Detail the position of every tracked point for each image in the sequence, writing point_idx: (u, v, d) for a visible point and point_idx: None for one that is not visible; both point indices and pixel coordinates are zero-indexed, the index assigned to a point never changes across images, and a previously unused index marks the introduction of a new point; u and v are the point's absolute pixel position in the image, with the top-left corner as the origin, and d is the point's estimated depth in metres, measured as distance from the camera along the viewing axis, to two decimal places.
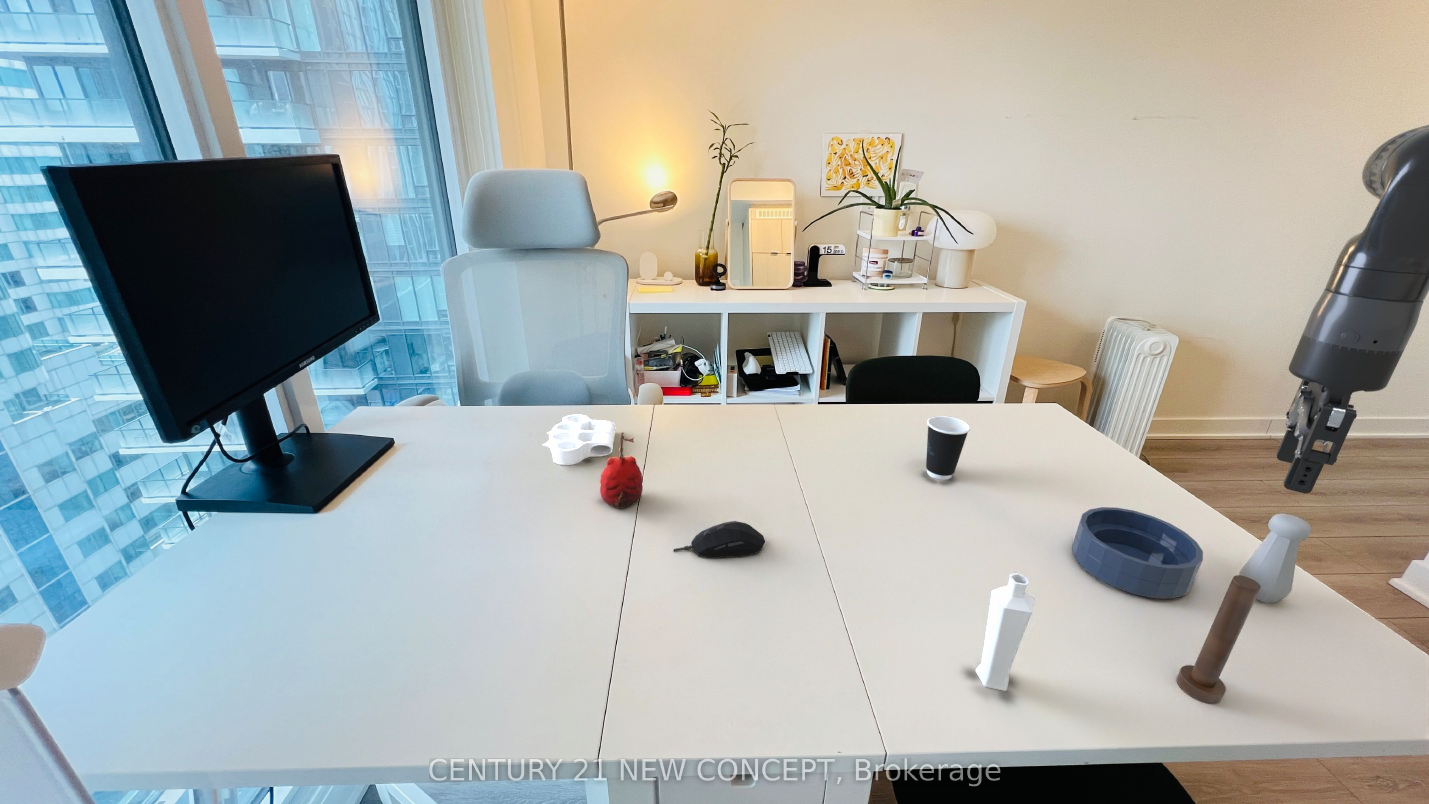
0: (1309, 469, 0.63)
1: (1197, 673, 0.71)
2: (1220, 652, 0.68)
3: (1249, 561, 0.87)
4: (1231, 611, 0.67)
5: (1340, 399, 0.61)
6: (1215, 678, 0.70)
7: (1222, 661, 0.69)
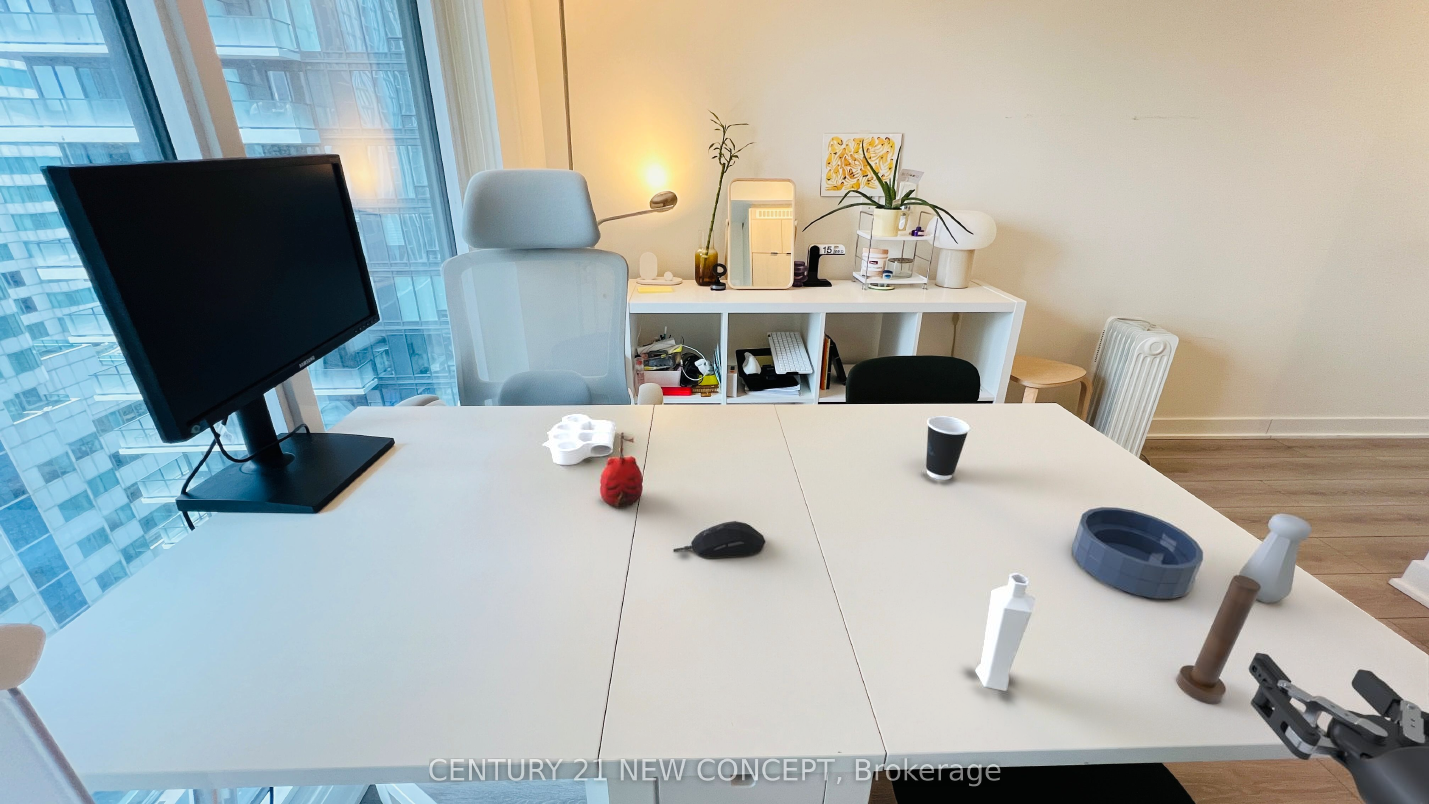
0: None
1: (1197, 673, 0.71)
2: (1220, 652, 0.68)
3: (1249, 561, 0.87)
4: (1231, 611, 0.67)
5: None
6: (1215, 678, 0.70)
7: (1222, 661, 0.69)
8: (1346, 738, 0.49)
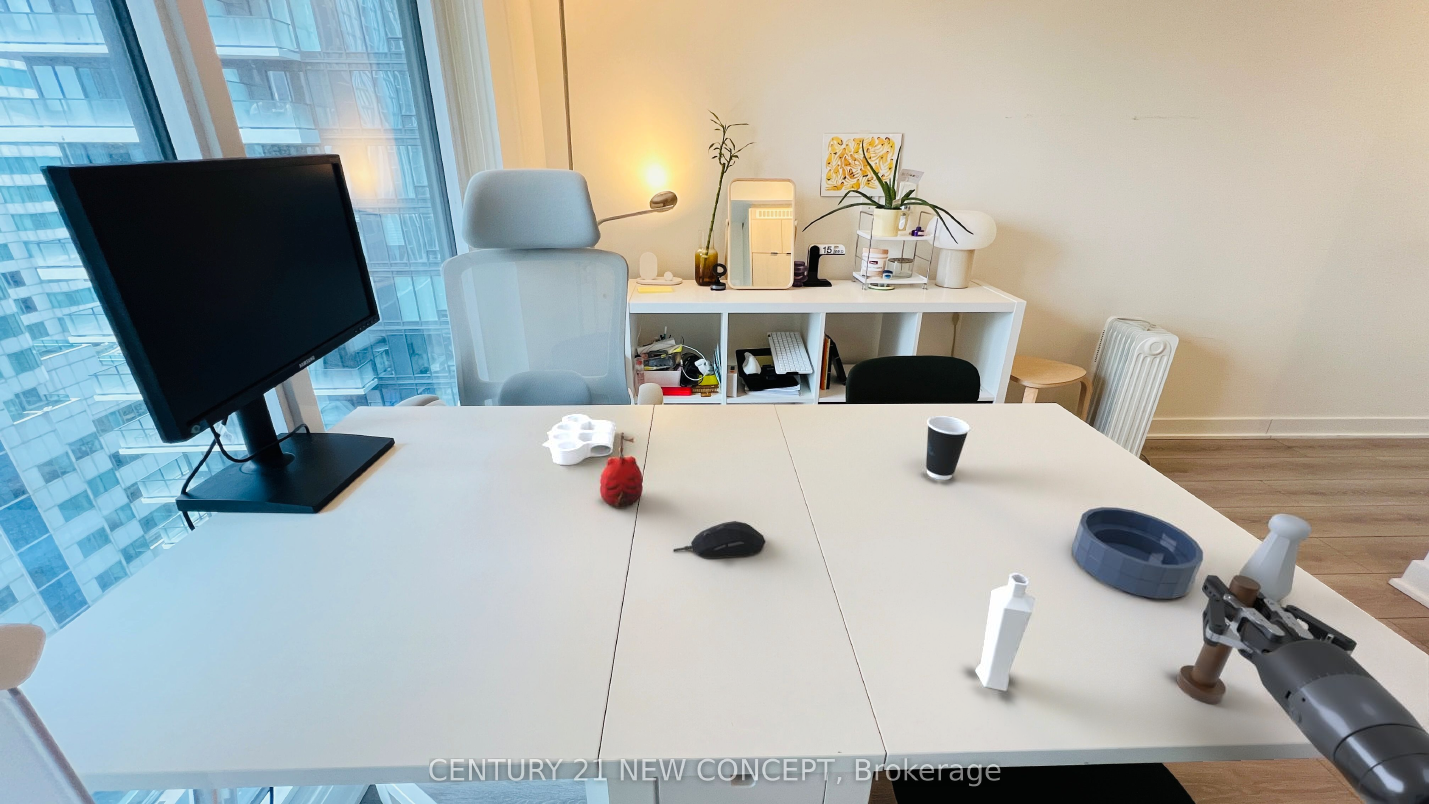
0: None
1: (1197, 673, 0.71)
2: (1220, 652, 0.68)
3: (1249, 561, 0.87)
4: None
5: None
6: (1215, 678, 0.70)
7: (1222, 661, 0.69)
8: (1252, 639, 0.60)
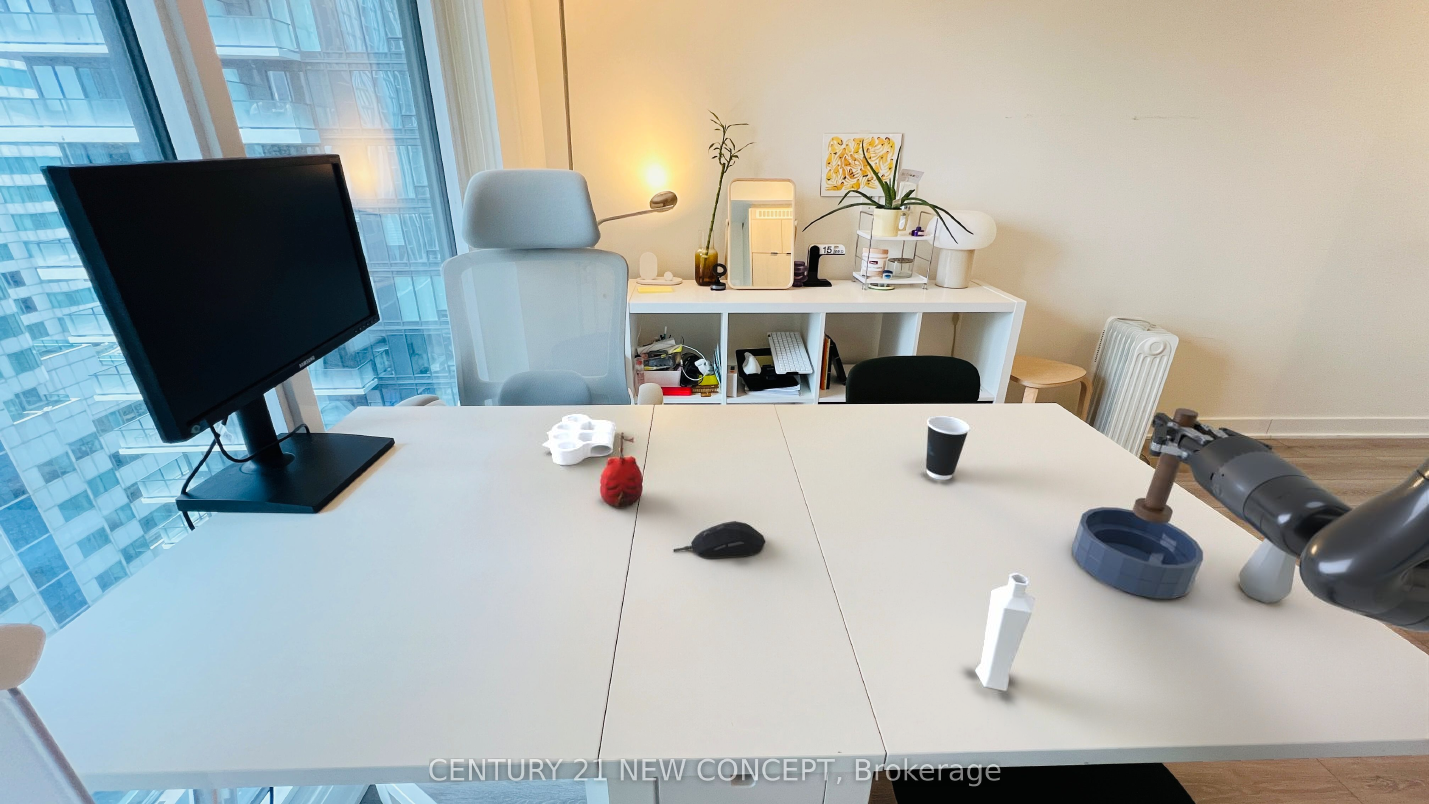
0: None
1: (1149, 499, 0.83)
2: (1167, 476, 0.81)
3: (1249, 561, 0.87)
4: None
5: None
6: (1163, 501, 0.82)
7: (1168, 485, 0.81)
8: (1187, 444, 0.72)
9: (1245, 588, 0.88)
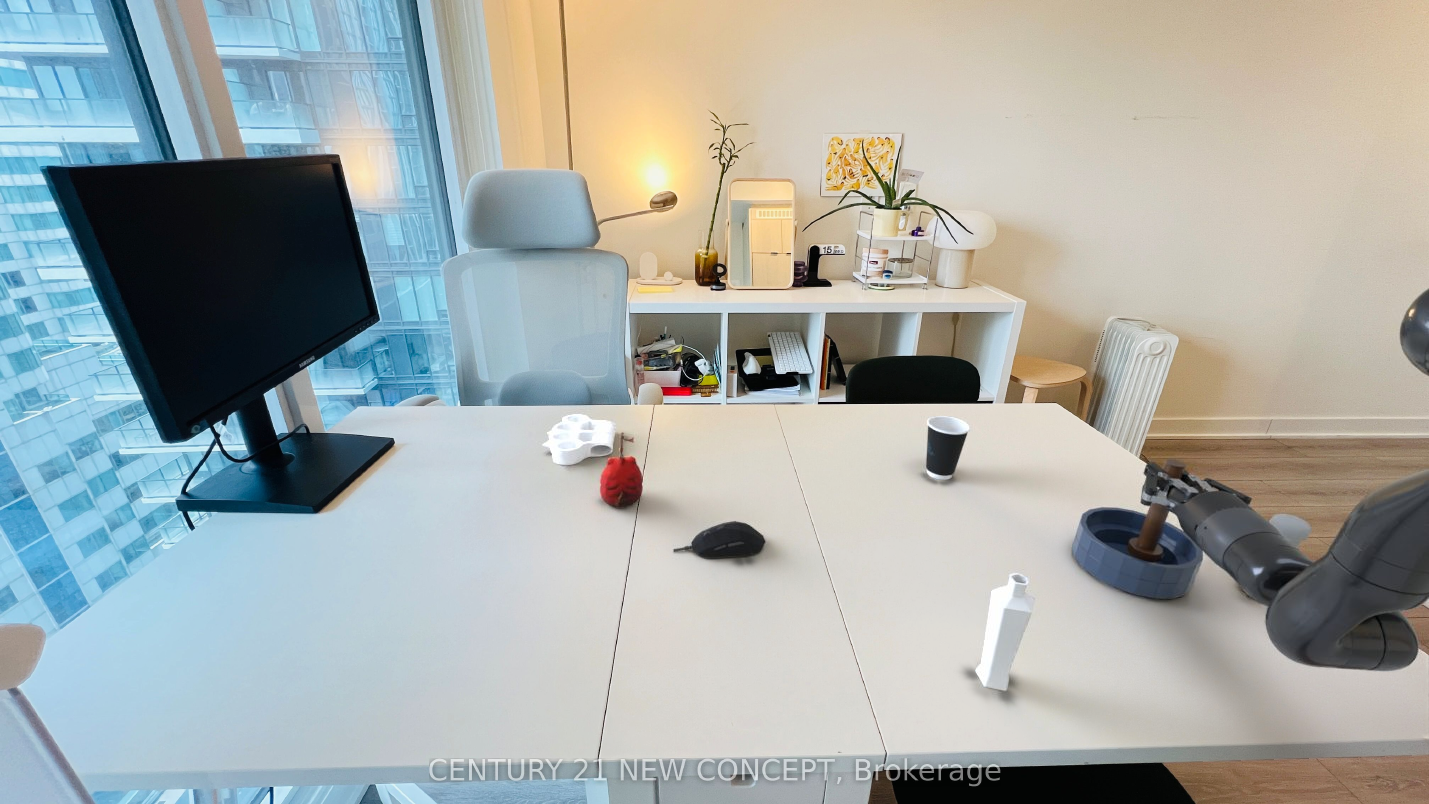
0: None
1: (1141, 540, 0.91)
2: (1157, 520, 0.89)
3: None
4: None
5: None
6: (1154, 542, 0.90)
7: (1159, 527, 0.89)
8: (1174, 496, 0.80)
9: None
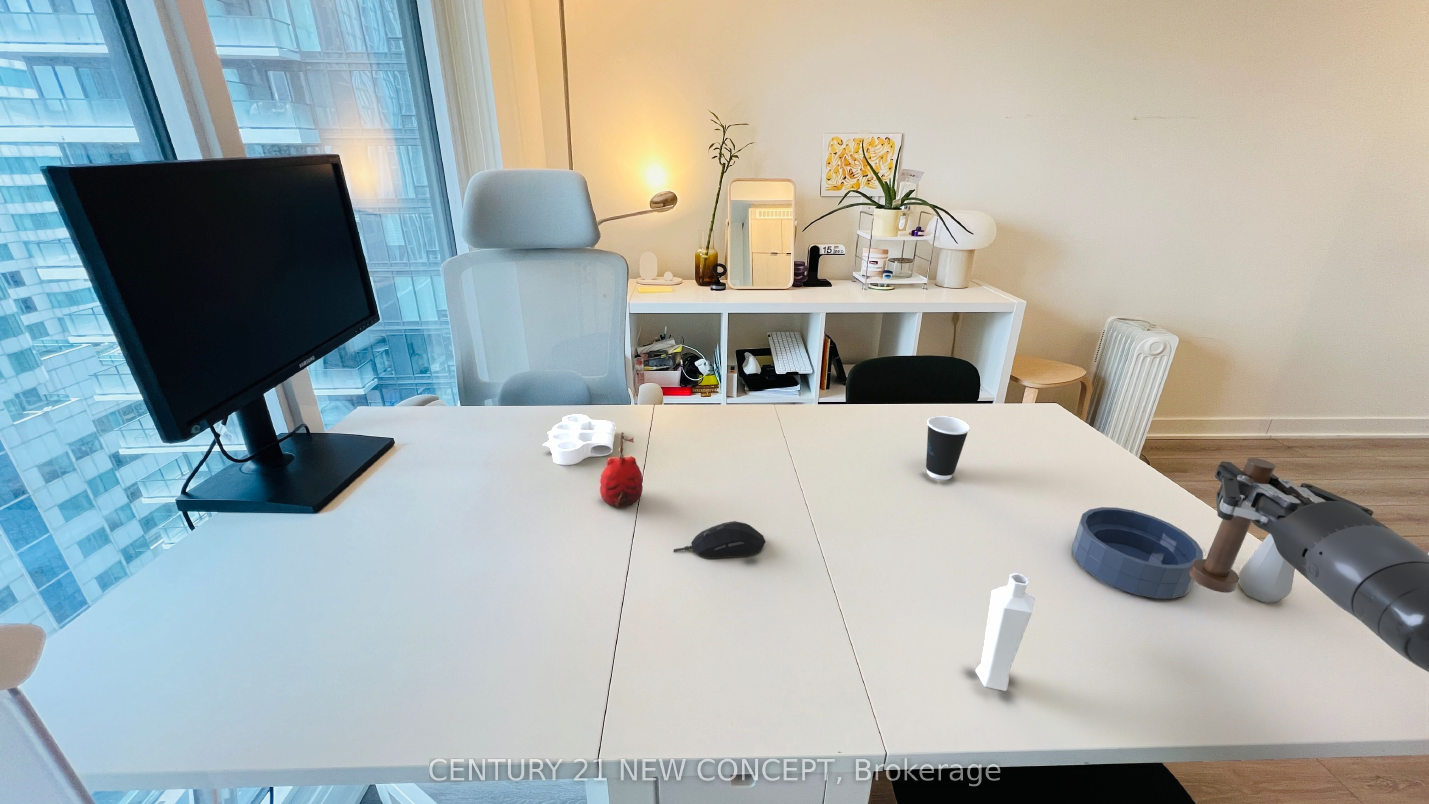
0: None
1: (1210, 563, 0.70)
2: (1234, 538, 0.68)
3: (1249, 561, 0.87)
4: None
5: None
6: (1228, 566, 0.69)
7: (1236, 547, 0.68)
8: (1267, 508, 0.59)
9: (1245, 588, 0.88)
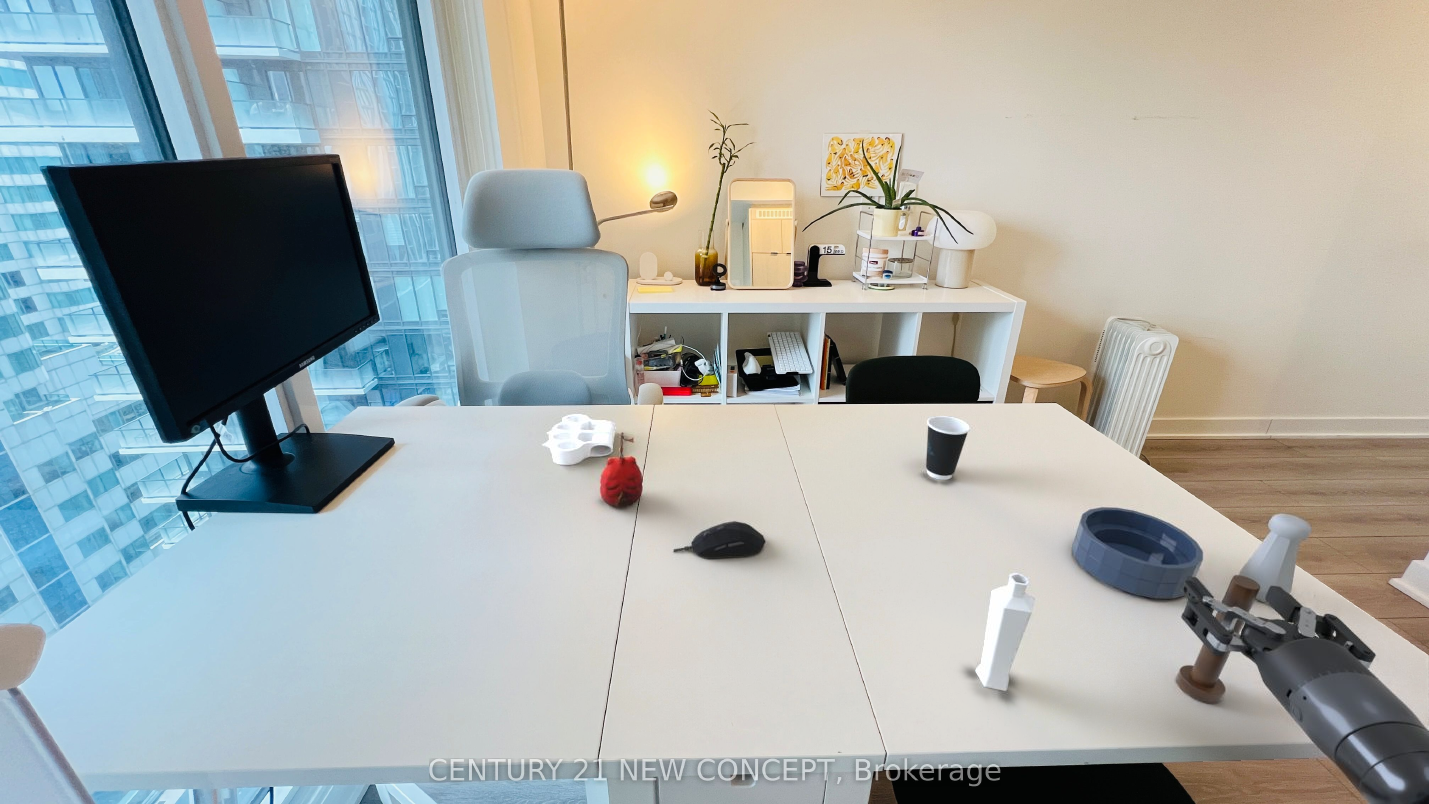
0: None
1: (1197, 673, 0.71)
2: None
3: (1249, 561, 0.87)
4: None
5: None
6: (1215, 678, 0.70)
7: (1222, 661, 0.69)
8: (1253, 637, 0.60)
9: None
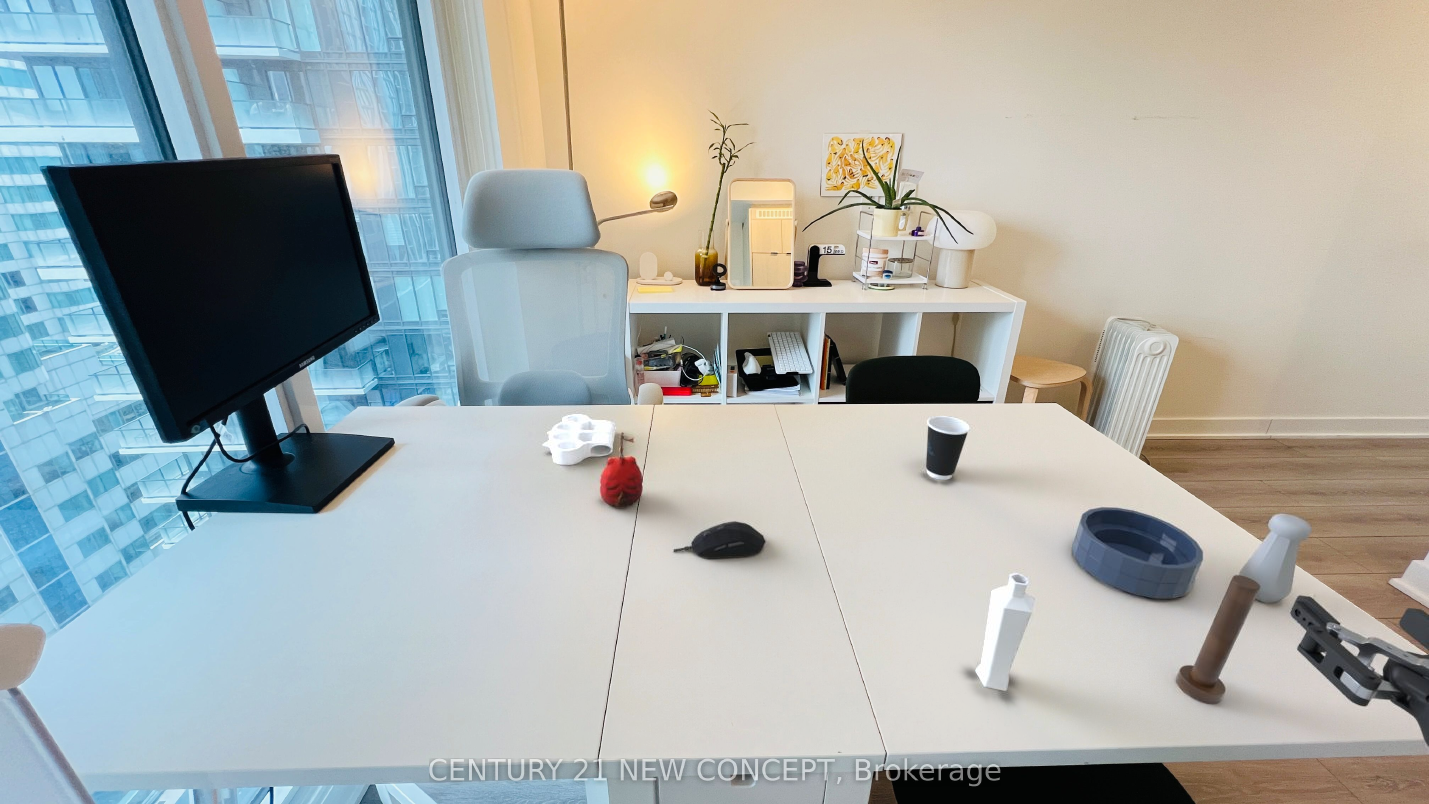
0: None
1: (1197, 673, 0.71)
2: (1220, 652, 0.68)
3: (1249, 561, 0.87)
4: (1231, 611, 0.67)
5: None
6: (1215, 678, 0.70)
7: (1222, 661, 0.69)
8: (1408, 680, 0.45)
9: None
